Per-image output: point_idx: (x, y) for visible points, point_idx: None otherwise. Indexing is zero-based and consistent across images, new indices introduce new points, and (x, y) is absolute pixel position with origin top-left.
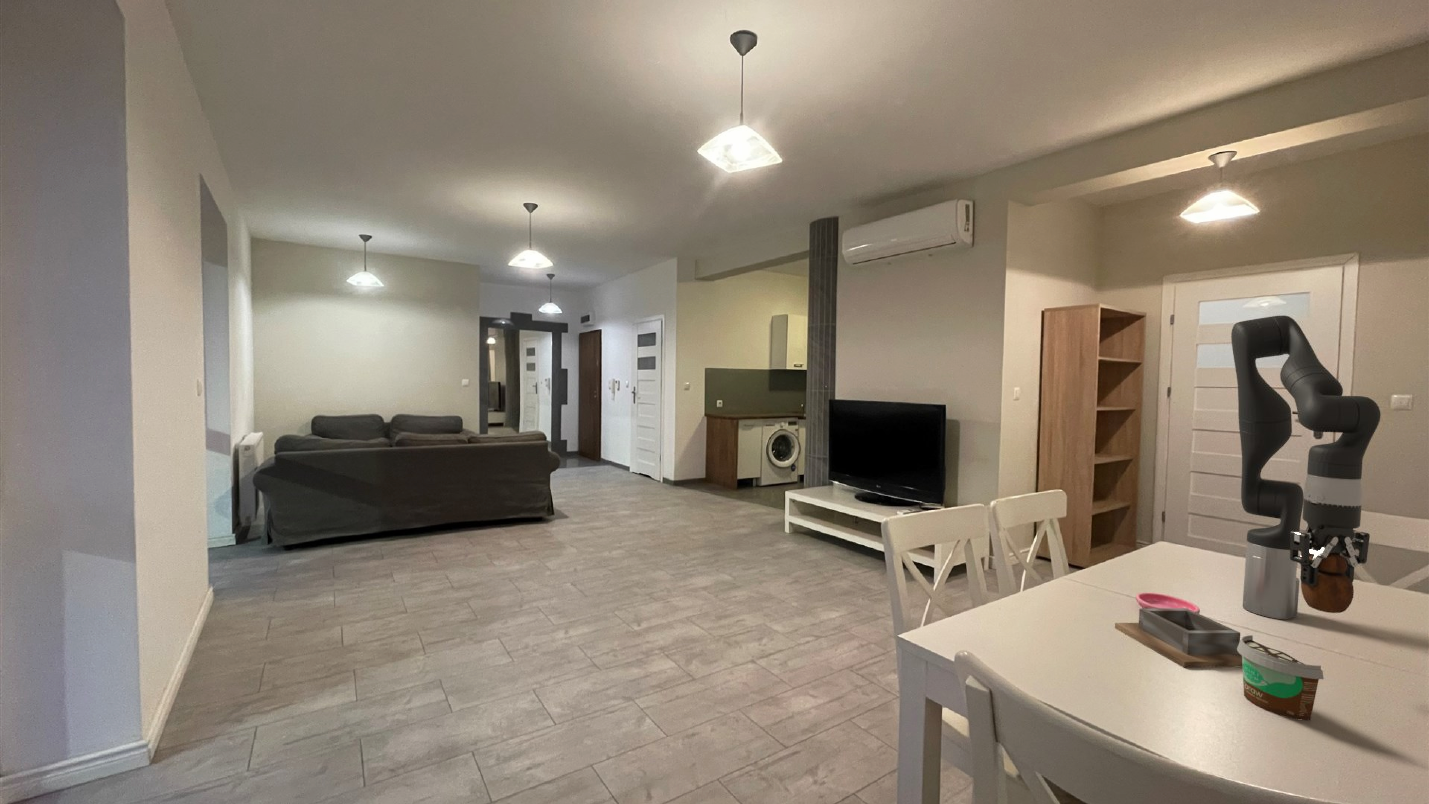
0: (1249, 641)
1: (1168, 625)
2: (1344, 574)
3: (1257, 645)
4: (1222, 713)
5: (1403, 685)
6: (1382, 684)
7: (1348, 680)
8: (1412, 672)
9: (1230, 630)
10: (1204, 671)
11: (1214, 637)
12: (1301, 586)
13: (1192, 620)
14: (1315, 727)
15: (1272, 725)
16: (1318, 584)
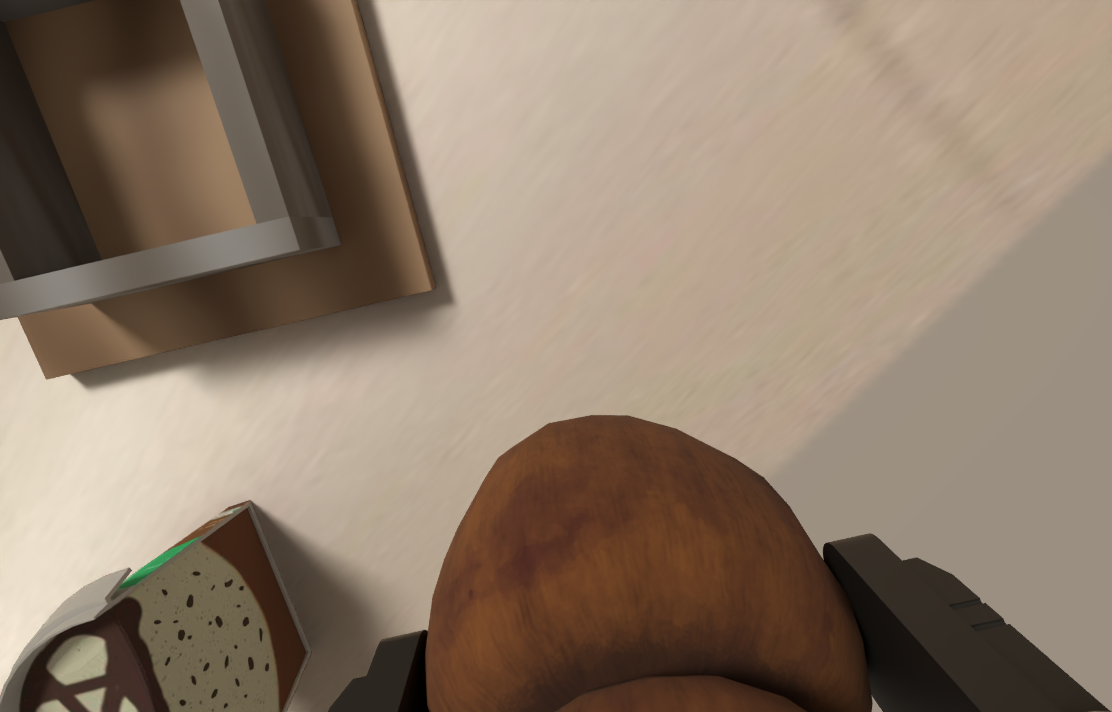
0: (88, 622)
1: None
2: (907, 697)
3: (99, 665)
4: None
5: (859, 348)
6: (784, 356)
7: (678, 348)
8: (1023, 217)
9: (261, 225)
10: (139, 387)
11: (164, 282)
12: (472, 503)
13: None
14: (298, 685)
15: None
16: None
